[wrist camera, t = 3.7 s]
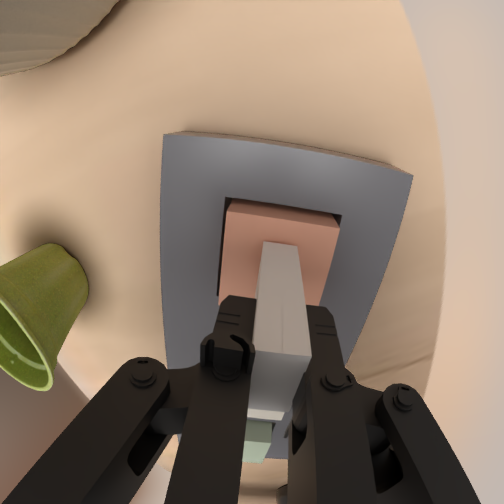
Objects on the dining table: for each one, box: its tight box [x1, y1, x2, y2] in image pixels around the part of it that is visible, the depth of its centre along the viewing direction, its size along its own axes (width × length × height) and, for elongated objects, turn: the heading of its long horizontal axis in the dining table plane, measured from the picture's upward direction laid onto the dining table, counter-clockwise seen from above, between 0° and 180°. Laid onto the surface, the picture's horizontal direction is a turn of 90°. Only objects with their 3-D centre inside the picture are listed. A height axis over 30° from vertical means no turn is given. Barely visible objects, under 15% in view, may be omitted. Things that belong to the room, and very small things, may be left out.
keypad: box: [160, 131, 414, 459], centre depth 20 cm, size 29×12×3 cm, turn 173°
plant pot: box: [0, 243, 89, 391], centre depth 16 cm, size 9×9×9 cm
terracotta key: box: [218, 198, 340, 306], centre depth 15 cm, size 5×5×3 cm
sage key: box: [242, 420, 272, 464], centre depth 22 cm, size 5×5×3 cm
